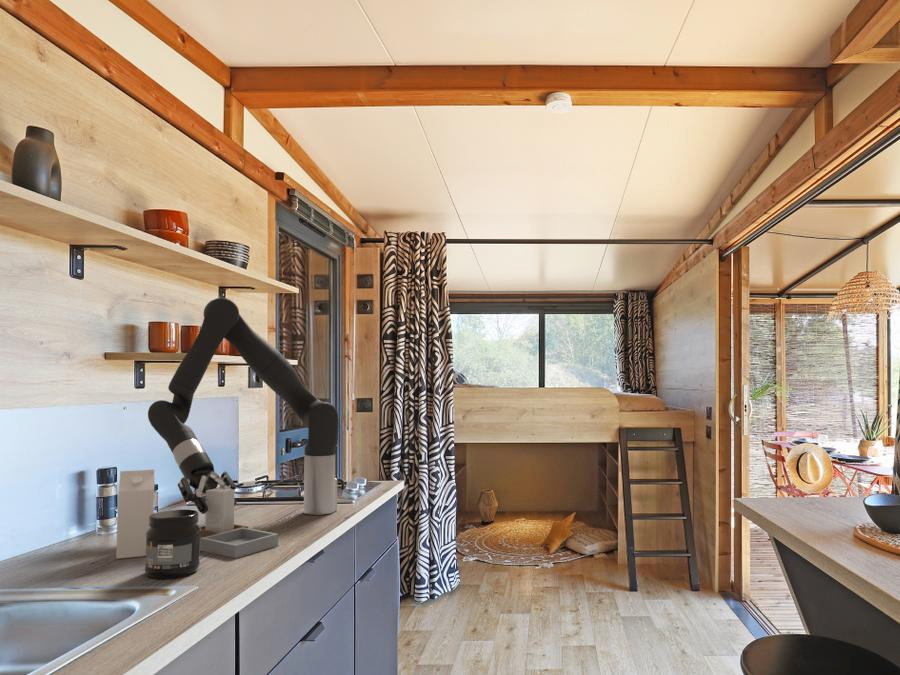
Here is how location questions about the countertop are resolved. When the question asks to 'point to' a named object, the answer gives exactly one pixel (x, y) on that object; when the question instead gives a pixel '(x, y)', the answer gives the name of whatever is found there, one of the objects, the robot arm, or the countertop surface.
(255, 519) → the countertop surface
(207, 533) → the holder
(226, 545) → the tray
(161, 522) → the supplement container
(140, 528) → the milk carton
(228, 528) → the skincare box
